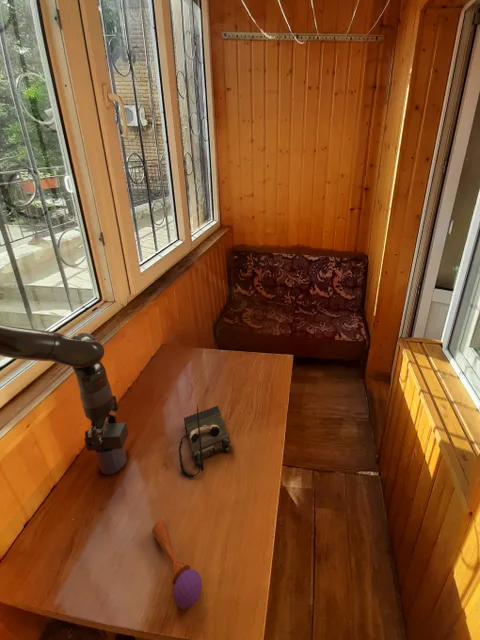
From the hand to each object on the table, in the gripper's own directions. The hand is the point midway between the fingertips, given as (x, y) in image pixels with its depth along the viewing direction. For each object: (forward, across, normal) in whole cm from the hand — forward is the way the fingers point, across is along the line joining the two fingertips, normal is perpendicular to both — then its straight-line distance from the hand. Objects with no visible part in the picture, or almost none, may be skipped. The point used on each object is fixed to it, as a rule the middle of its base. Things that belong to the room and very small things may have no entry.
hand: (107, 438), depth 95 cm
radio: (+11, -2, +28) cm, 30 cm away
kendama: (+11, +28, +26) cm, 40 cm away
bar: (+2, 0, 0) cm, 2 cm away
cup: (+11, 0, 0) cm, 11 cm away
